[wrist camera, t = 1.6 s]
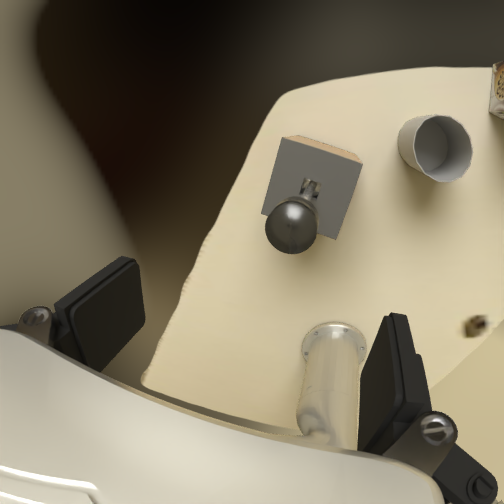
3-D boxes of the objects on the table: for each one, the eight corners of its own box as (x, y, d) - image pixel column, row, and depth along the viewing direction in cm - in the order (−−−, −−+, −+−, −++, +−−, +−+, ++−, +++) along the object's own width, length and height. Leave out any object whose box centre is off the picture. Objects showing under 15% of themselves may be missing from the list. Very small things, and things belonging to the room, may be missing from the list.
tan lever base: (331, 225, 47) (327, 262, 35) (277, 207, 49) (254, 236, 36) (355, 154, 42) (362, 164, 30) (298, 135, 43) (281, 137, 31)
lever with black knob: (328, 216, 36) (318, 283, 21) (281, 200, 36) (237, 254, 22) (344, 169, 33) (349, 202, 18) (295, 152, 34) (258, 172, 19)
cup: (451, 166, 38) (477, 177, 29) (405, 175, 41) (421, 188, 32) (439, 113, 36) (464, 110, 27) (391, 121, 38) (405, 119, 30)
